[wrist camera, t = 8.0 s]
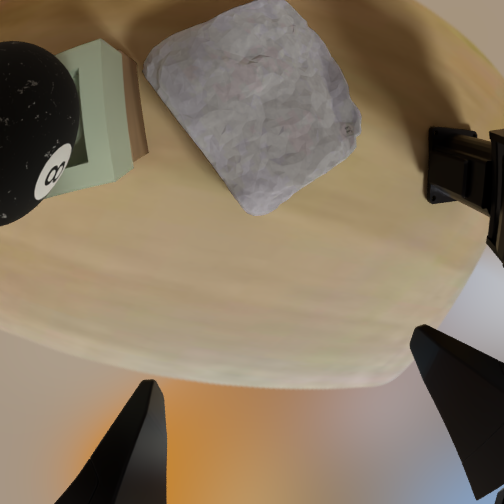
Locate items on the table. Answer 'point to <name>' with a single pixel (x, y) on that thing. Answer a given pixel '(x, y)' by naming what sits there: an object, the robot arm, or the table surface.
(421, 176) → the table surface
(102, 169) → the tower cap
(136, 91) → the tower base
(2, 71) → the billiard ball
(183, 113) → the stone block
